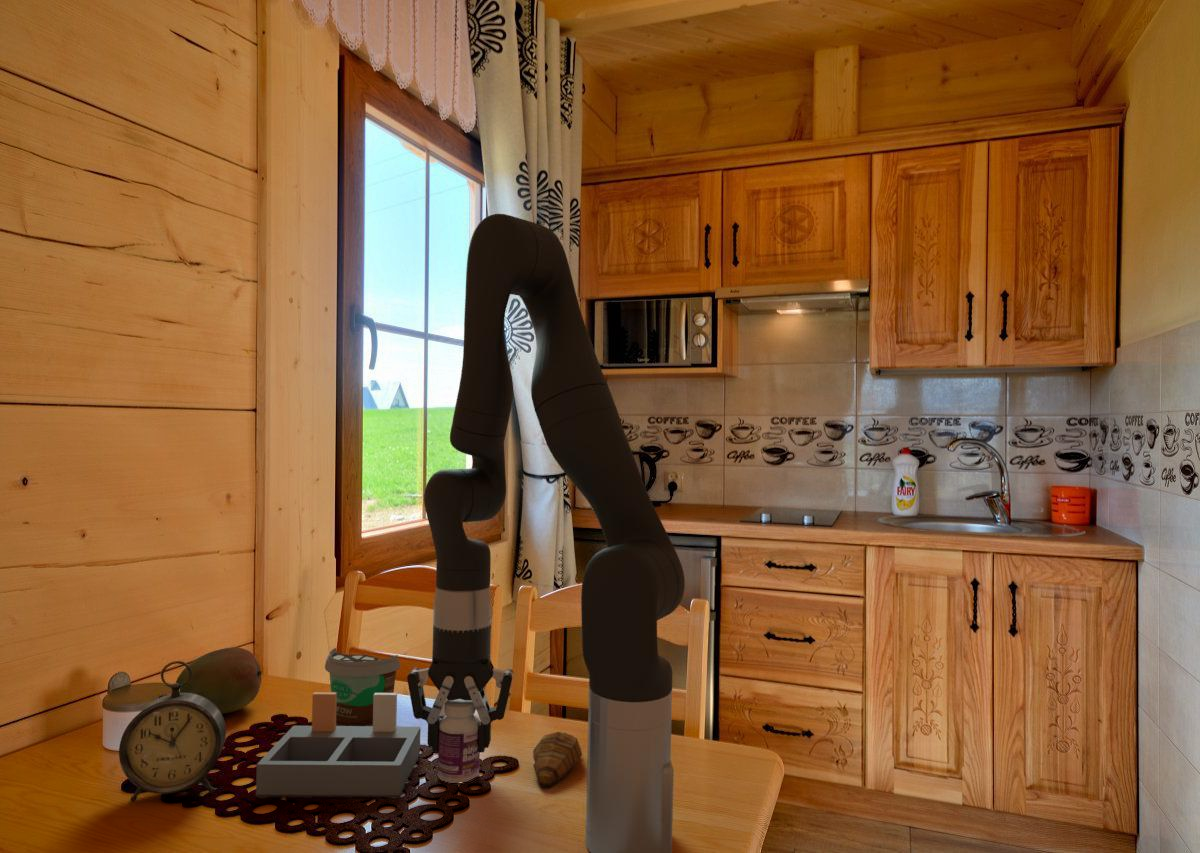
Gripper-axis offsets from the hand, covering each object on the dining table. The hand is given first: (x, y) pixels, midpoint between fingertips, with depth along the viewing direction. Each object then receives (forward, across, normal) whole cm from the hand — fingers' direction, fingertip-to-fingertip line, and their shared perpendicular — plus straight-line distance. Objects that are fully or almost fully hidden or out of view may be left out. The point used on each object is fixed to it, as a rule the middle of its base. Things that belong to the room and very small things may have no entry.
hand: (459, 749), depth 98 cm
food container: (+4, -19, +18) cm, 26 cm away
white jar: (+4, -5, +22) cm, 23 cm away
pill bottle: (+4, 0, 0) cm, 4 cm away
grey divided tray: (+3, -15, 0) cm, 15 cm away
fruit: (+4, -41, +21) cm, 46 cm away
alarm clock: (+4, -34, -5) cm, 35 cm away
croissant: (+4, +13, +3) cm, 14 cm away
